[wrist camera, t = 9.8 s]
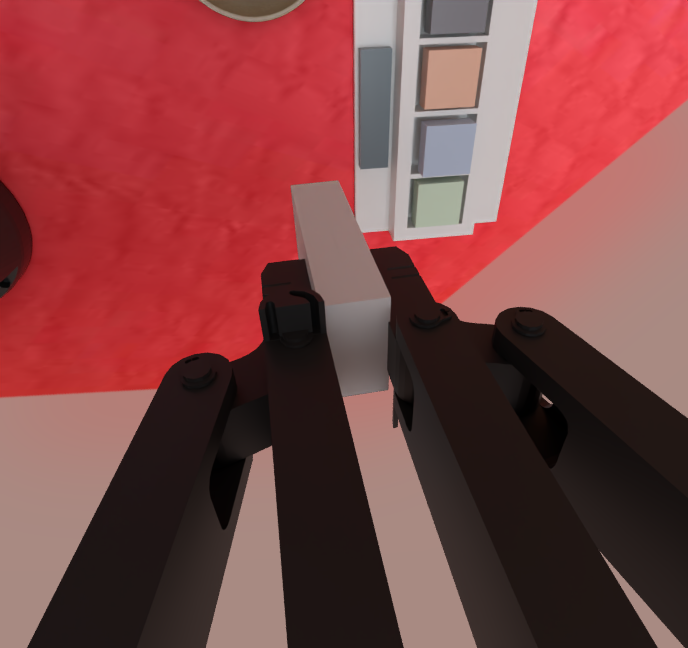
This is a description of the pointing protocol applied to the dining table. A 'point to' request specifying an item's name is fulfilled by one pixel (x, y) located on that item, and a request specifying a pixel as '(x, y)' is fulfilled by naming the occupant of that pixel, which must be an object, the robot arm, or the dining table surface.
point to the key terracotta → (449, 76)
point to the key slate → (446, 147)
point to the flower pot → (252, 8)
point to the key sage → (436, 201)
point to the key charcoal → (455, 16)
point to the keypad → (430, 111)
